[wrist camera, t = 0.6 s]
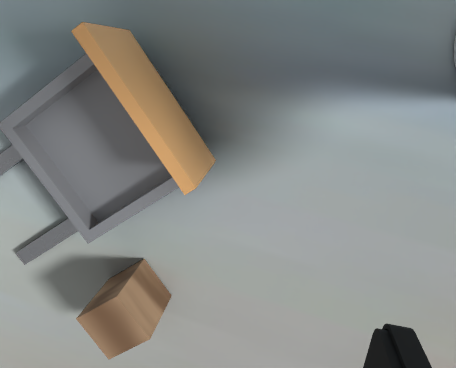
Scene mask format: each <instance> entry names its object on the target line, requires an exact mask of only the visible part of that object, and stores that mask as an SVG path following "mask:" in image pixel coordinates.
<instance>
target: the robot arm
mask: <svg viewBox="0 0 456 368" xmlns="http://www.w3.org/2000/svg"><path fill="white" fill-rule="evenodd" d="M454 62H455V67H456V37H455V42H454ZM363 368H432V367H431V365H430V363H429V361H428V359H427V356H426V354H425V352H424V350H423V348H422V346H421V344H420V342H419V340H418V338H417V335H416V333H415V332H414V330H413V329H411V328H407V327H402V326H396V325H391V324H385V325H384V326H383V328H382V329H375V330H374V332H373V335H372V339H371V342H370V346H369V349H368V353H367V356H366V360H365V363H364V367H363Z"/></svg>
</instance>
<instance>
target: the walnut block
mask: <svg viewBox="0 0 456 368" xmlns="http://www.w3.org/2000/svg"><path fill="white" fill-rule="evenodd" d="M170 298H171V294H170V293H169V292H168V290H167V289H166V287H165V286H164V285H163V283H162V282H161V281H160V279H159V278H158V277H157V275H156V274H155V273H154V271H153V270H152V269H151V267H150V266H149V264H148V263H147V262H146V260H145V259H143V260H141V261H140V262H138V263H136V264H134V265H133V266H131V267H129V268H127V269H126V270H124V271H122V272H120V273H119V274H117V275H115V276H113V277H112V278H110V279H108V281H107V282H106V283H105V284H104V286H103V287H102V288H101V289H100V290H99V292H98V293H97V294H96V295H95V296H94V298H93V299H92V300H91V301H90V303H89V304H88V305H87V306H86V307H85V309H84V310H83V311H82V312H81V313H80V315H79V316H78V317H77V318H76V319H77V320H78V322H79V323H80V324H81V325H82V327H83V328H84V329H85V330H86V332H87V333H88V334H89V335H90V337H91V338H92V339H93V340H94V342H95V343H96V344H97V345H98V347H99V348H100V349H101V350H102V352H103V353H104V354H105V355H106V357H107V358H108V359H111V358H113V357H115V356H117V355H119V354H121V353H123V352H125V351H127V350H129V349H131V348H133V347H135V346H137V345H139V344H141V343H143V342H145V341H147V340H149V339H150V338H151V336H152V334H153V332H154V330H155V328H156V326H157V324H158V322H159V320H160V318H161V316H162V314H163V312H164V310H165V308H166V306H167V304H168V302H169V300H170Z"/></svg>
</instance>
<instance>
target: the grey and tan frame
mask: <svg viewBox="0 0 456 368" xmlns="http://www.w3.org/2000/svg"><path fill="white" fill-rule="evenodd" d="M71 32H72V33H73V35H74V36H75V37H76V39H77V40H78V42H79V43H80V45H81V46H82V48H83V49H84V50H85V52H86V54H85V55H84V56H82V57H81V58H80V59H79V60H77V61H76V62H75V63H74V64H72V65H71V66H70V67H69V68H67V69H66V70H65V71H64V72H62V73H61V74H60V75H59V76H57V77H56V78H55V79H54V80H52V81H51V82H50V83H49V84H47V85H46V86H45V87H44V88H42V89H41V90H40V91H39V92H37V93H36V94H35V95H34V96H32V97H31V98H30V99H29V100H27V101H26V102H25V103H24V104H23V105H21V106H20V107H19V108H18V109H16V110H15V111H14V112H13V113H11V114H10V115H9V116H8V117H6V118H5V119H4V120H3V121H1V122H0V129H1V130H2V132H3V133H4V134H5V136H6V137H7V138H8V139H9V141H10V142H11V143H12V145H13V146H14V147H15V149H16V150H17V151H18V153H19V154H20V155H21V157H22V158H23V159H24V160H25V162H26V163H27V164H28V166H29V167H30V168H31V170H32V171H33V172H34V174H35V175H36V176H37V177H38V179H39V180H40V181H41V183H42V184H43V185H44V187H45V188H46V189H47V191H48V192H49V193H50V195H51V196H52V197H53V198H54V200H55V201H56V202H57V204H58V205H59V206H60V208H61V209H62V210H63V212H64V213H65V214H66V216H67V217H68V218H69V219H70V221H71V222H72V223H73V225H74V226H75V227H76V229H77V230H78V231H79V233H80V234H81V235H82V236H83V238H84V239H85V240H86V242H87V243H90V242H91V241H93V240H95V239H96V238H98V237H99V236H101V235H103V234H104V233H106V232H108V231H109V230H111V229H112V228H114V227H116V226H117V225H119V224H120V223H122V222H124V221H125V220H127V219H129V218H130V217H132V216H133V215H135V214H137V213H138V212H140V211H142V210H143V209H145V208H146V207H148V206H150V205H151V204H153V203H154V202H156V201H158V200H159V199H161V198H163V197H164V196H166V195H167V194H169V193H171V192H172V191H174V190H175V189H177V188H179V187H180V189H181V190H182V192H183V193H184V195H186V194H187V193H189V192H191V191H192V190H194V189H195V188H197V186H198V185H199V183H200V182H201V181H202V179H203V178H204V177H205V175H206V174H207V172H208V171H209V170H210V168H211V167H212V166H213V164H214V163H215V161H216V160H215V158H214V157H213V155H212V154H211V152H210V151H209V149H208V147H207V146H206V144H205V143H204V141H203V140H202V138H201V137H200V135H199V134H198V132H197V131H196V129H195V128H194V126H193V125H192V123H191V122H190V120H189V119H188V117H187V116H186V114H185V113H184V111H183V110H182V108H181V107H180V105H179V104H178V102H177V101H176V99H175V98H174V96H173V95H172V93H171V92H170V90H169V89H168V87H167V86H166V84H165V83H164V81H163V80H162V78H161V77H160V75H159V74H158V72H157V71H156V69H155V68H154V66H153V65H152V63H151V62H150V60H149V59H148V57H147V56H146V54H145V53H144V51H143V50H142V48H141V47H140V45H139V44H138V42H137V41H136V39H135V38H134V36H133V35H132V33H131V32H130V30H126V29H120V28H114V27H109V26H103V25H97V24H92V23H86V22H82V23H80V24H79V25H78V26H77V27H76V28H74V29H73V30H72V31H71Z"/></svg>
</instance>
